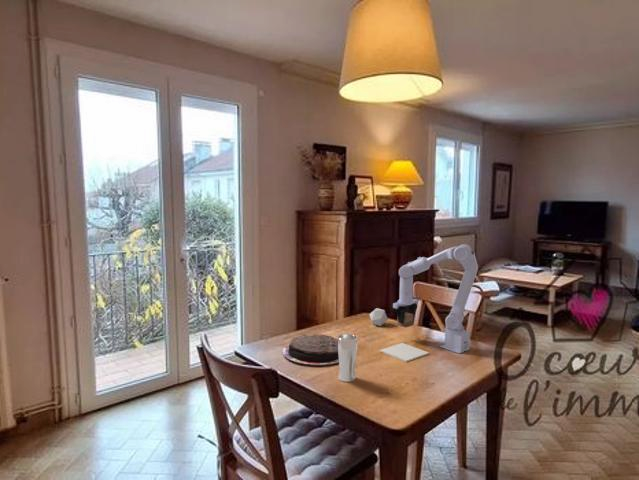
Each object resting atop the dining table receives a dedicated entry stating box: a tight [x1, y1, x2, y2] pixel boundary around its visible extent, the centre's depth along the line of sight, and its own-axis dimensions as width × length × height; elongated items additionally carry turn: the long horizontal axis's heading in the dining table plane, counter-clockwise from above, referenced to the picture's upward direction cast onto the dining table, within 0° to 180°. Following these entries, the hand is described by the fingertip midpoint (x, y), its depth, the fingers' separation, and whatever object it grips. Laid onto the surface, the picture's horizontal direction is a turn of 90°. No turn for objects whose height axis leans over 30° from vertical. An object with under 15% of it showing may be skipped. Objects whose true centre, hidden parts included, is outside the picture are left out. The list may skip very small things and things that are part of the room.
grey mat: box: [379, 342, 430, 363], centre depth 172 cm, size 14×14×1 cm
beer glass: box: [337, 333, 358, 383], centre depth 146 cm, size 7×7×15 cm
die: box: [369, 307, 389, 327], centre depth 209 cm, size 8×9×10 cm
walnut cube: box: [396, 312, 415, 328], centre depth 186 cm, size 5×5×5 cm
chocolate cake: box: [282, 333, 339, 368], centre depth 170 cm, size 28×28×7 cm
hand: (405, 321), depth 186 cm, fingers closed on walnut cube, 5 cm apart
